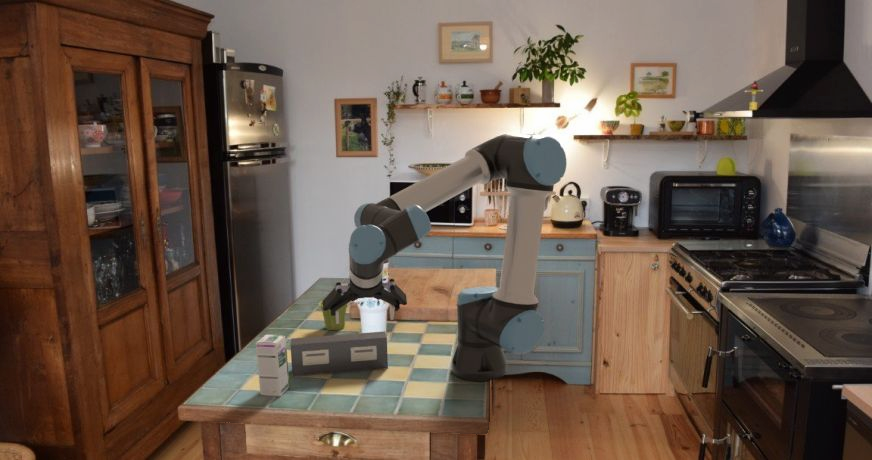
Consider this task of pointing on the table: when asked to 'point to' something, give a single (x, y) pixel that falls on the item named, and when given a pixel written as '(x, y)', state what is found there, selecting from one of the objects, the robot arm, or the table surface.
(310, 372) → the box
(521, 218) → the robot arm
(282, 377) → the syrup box
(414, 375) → the table surface
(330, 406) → the table surface
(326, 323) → the plant pot
